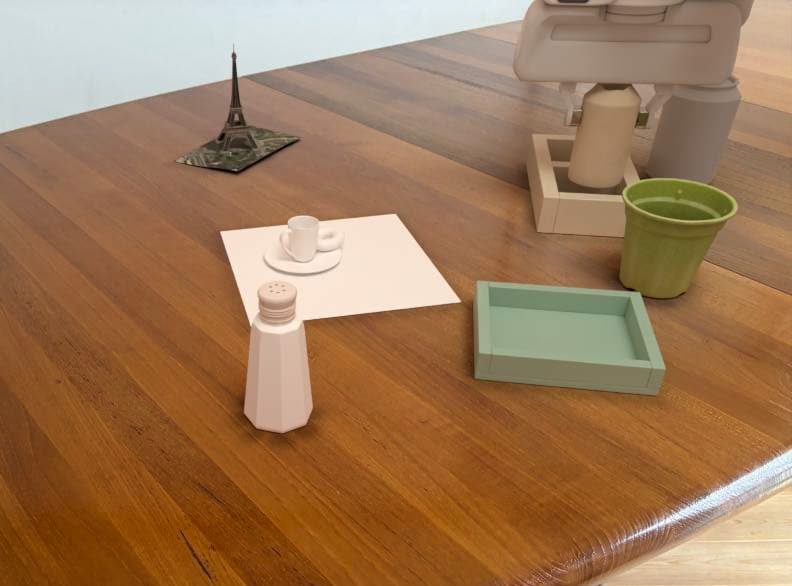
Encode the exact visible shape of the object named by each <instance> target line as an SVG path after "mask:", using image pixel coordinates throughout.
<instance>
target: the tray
mask: <svg viewBox="0 0 792 586" xmlns="http://www.w3.org/2000/svg"><path fill="white" fill-rule="evenodd" d="M642 296H643V295H641V293H640V292H637V291H631V290H630V291H629V290H616V289H615V290H614V289H601V288H587V287H573V286H559V285H544V284H531V283H519V282H517V283H516V282H504V281H503V282H502V281H492V280H491V281H489V280H477V279H476V283H475V290H474V297H473V302H472V303H473V304H472V306H473V307H472V316H473V317H472V319H473V320H472V321H473V366H474V367H473V369H474V370H473V371H474V372H473V373H474V376H473V377H474V380H481V381H492V382H502V383H512V384H513V383H514V384H525V385H533V386H534V385H535V386H545V387H557V388H566V389H568V388H569V389H578V390H588V391H600V392H601V391H602V392H609V393H621V394H630V395H631V394H633V395H642V396H652V397H653V396H654V397H658V396H659V395H658V394H659V391H660V389H661V386H662V383H663V380H664V377H665V375H666V371H667V368H666V365H665V361H664V359H663V355H662V352H661V350H660V347H659V344H658V340H657V338H656V335H655V332H654V329H653V326H652V324H651V320H650V317H649V315H648V311H647V308H646V304H645V302H644V299H643V297H642Z"/></svg>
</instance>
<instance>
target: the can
mask: <svg viewBox="0 0 792 586" xmlns="http://www.w3.org/2000/svg"><path fill="white" fill-rule="evenodd" d="M739 84H740V79H739V78H738V77H736V76H734V75H733V74H732V75H731V76H730V77H729V78H728V79H727V80H726V81H725V82H724V83H722V84H721V85H719V86H707V85H674V89H673V93H672V96H671V97H670V98H669V99H668V100H667V101H666V103H665V104H664V105H663V106H662V107H661V112H660V115H659V119H658V122H657V127H656V130H655V133H654V137H653V141H652V145H651V148H650V150H649V155H648V159H647V162H646V166H645V173H646V174H647V175H648V176H649V178H650V179H653V178H674V179H683V180H690V181H695V182H699V183H703V184H706V185H710V184H711V183H712V182H713V181H714V180H715V178H716V175H717V172H718V170H719V165H720V162H721V159H722V156H723V154H724V150H725V148H726V145H727V141H728V139H729V136H730V133H731V130H732V126H733V123H734V120H735V118H736V115H737V111H738V108H739V105H740V102H741V99H742V94H741V91H740V90H739V88H738V85H739Z"/></svg>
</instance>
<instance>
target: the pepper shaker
mask: <svg viewBox="0 0 792 586" xmlns="http://www.w3.org/2000/svg"><path fill="white" fill-rule="evenodd" d="M257 295H258V298H259V303H258V304H259V310H260V311H259V312H258V313H257V315H256V317H255V318H254V320H253V322H252V326H250V335H249V336H250V337H249V347H248V349H249V351H248V359H247V372H246V383H245V395H244V405H243V414H244V415H245V417H246V418H247V419H248V420H249V421H250V423H251V424H252V425H253V426H254V428H255V429H256V430H261V431H267V432H273V433H276V434H277V433H278V434H284V433H287V432H291V431H294V430H296V429H299V428H302V427H304V426H306V425H307V423H308V421H309V419H310V416H311V414H312V412H313V410H314V405H313V397H312V396H313V395H312V388H311V376H310V367H309V359H308V358H309V357H308V350H307V349H308V348H307V340H306V331H305V329H306V328H305V323H304V320H303V319H302V318H301V317H300V316H299V315H298V314H297V313H296V311H295V310H296V297H297V289H296V288H295V287H294V286H293V285H292V284H290V283H287V282H283V281H272V282H268V283H265V284H263V285H262V286H260V288H259V289H258V291H257Z"/></svg>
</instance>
